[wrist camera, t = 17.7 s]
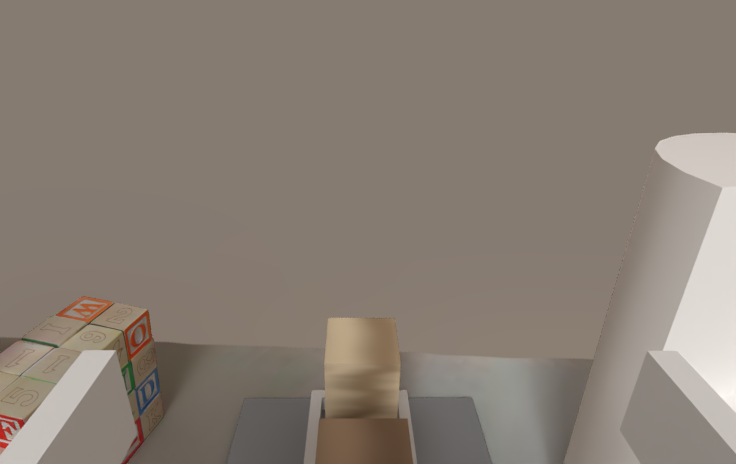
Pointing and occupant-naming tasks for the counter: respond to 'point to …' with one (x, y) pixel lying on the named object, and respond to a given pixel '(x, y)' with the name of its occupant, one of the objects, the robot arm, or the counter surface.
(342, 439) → the walnut pillar
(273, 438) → the board
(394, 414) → the oak pillar
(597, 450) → the cylinder
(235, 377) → the counter surface
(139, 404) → the stack of blocks
